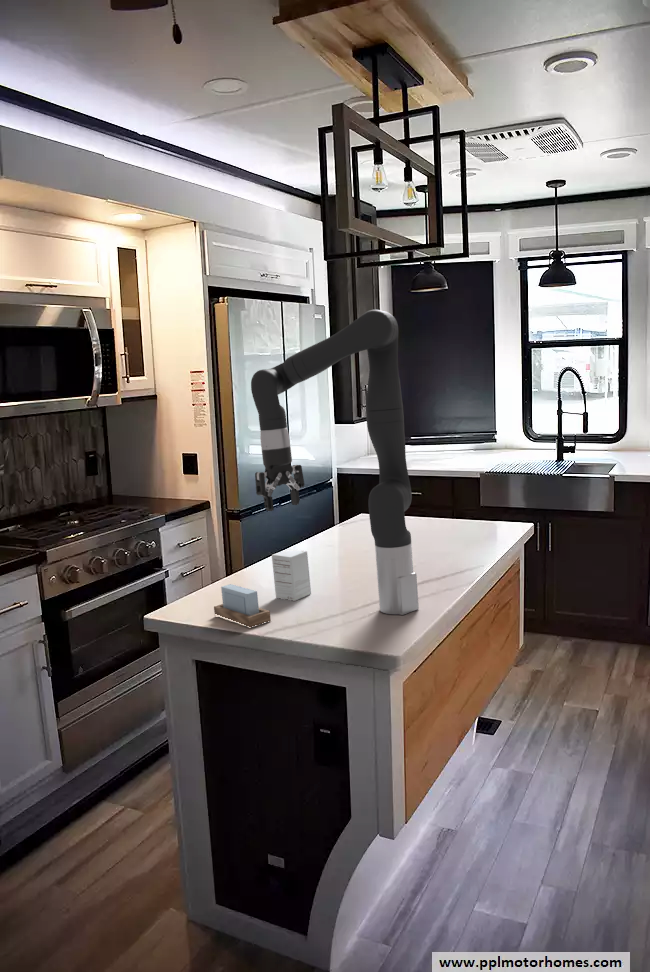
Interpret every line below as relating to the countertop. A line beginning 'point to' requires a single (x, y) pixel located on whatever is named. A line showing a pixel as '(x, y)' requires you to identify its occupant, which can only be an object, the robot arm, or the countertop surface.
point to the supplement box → (291, 574)
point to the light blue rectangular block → (240, 599)
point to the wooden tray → (243, 616)
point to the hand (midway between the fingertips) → (283, 507)
